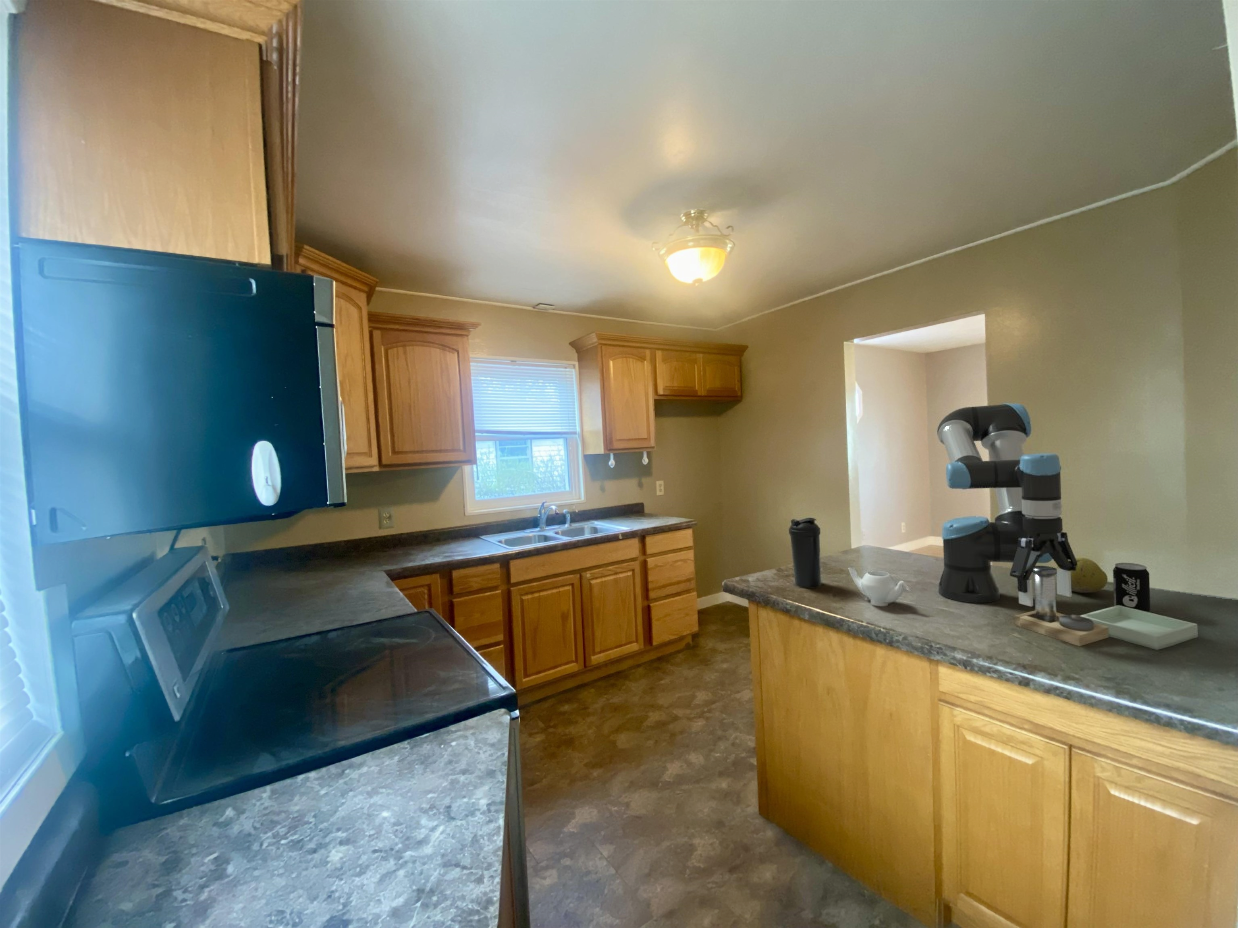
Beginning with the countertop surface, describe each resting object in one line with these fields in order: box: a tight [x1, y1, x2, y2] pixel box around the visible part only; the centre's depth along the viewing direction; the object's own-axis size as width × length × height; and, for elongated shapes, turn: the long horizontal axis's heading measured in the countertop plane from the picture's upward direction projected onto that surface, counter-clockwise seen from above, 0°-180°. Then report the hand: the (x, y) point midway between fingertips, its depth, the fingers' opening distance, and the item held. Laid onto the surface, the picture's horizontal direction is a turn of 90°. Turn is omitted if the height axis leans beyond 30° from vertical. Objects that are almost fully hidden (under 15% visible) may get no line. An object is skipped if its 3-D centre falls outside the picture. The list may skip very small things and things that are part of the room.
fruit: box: [1055, 557, 1108, 594], centre depth 144 cm, size 11×12×10 cm
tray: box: [1079, 605, 1199, 651], centre depth 118 cm, size 14×14×3 cm
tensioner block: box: [1014, 610, 1110, 647], centre depth 122 cm, size 14×10×5 cm
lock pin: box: [1032, 565, 1057, 623], centre depth 124 cm, size 5×5×15 cm
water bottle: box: [788, 517, 822, 589], centre depth 172 cm, size 10×10×23 cm
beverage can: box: [1112, 562, 1151, 613], centre depth 129 cm, size 7×7×12 cm
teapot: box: [847, 566, 912, 607], centre depth 149 cm, size 10×20×9 cm, turn 28°
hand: (1045, 599), depth 124 cm, fingers open, 13 cm apart
